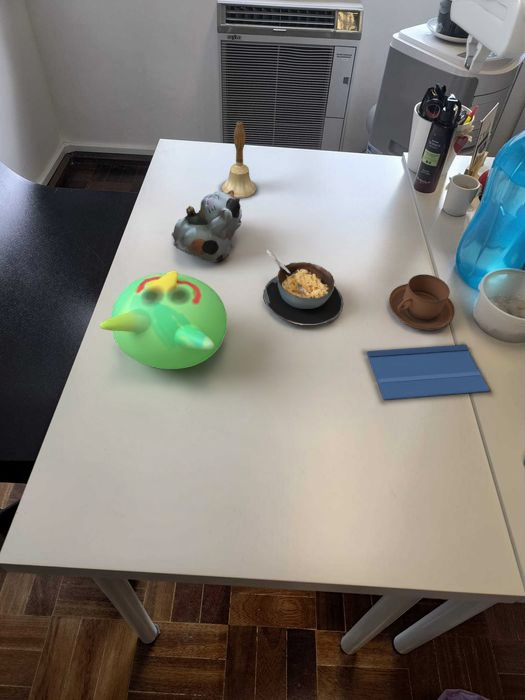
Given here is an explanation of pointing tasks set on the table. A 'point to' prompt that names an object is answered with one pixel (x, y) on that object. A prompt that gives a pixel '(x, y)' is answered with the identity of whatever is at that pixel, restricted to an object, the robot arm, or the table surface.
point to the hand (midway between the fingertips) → (470, 70)
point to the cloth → (426, 372)
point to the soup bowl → (303, 293)
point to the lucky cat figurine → (209, 227)
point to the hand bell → (239, 169)
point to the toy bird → (168, 321)
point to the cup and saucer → (423, 303)
